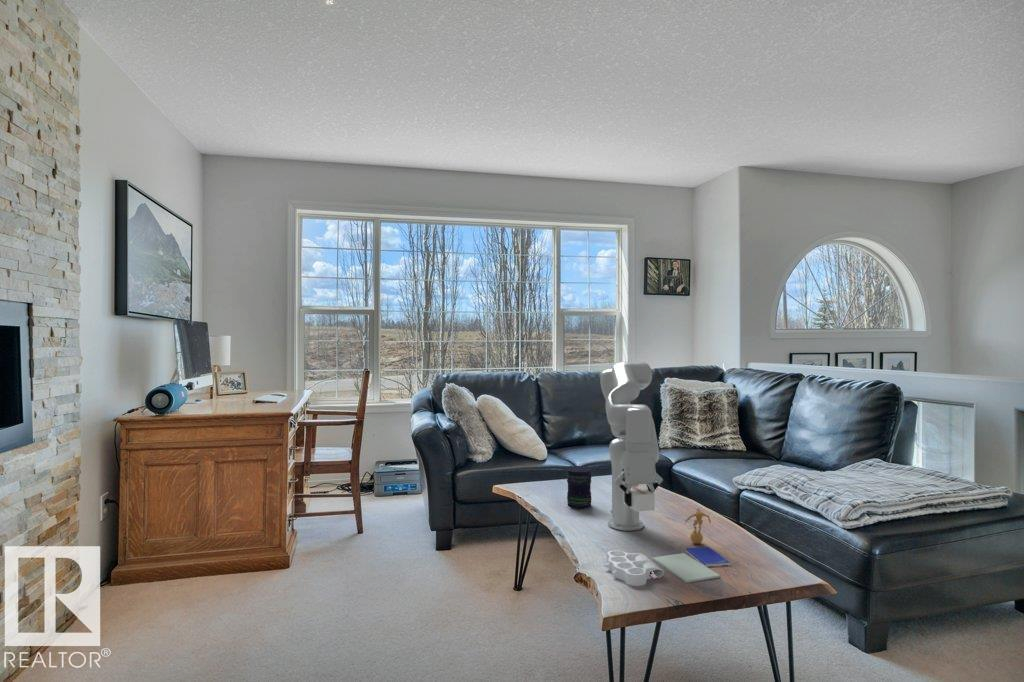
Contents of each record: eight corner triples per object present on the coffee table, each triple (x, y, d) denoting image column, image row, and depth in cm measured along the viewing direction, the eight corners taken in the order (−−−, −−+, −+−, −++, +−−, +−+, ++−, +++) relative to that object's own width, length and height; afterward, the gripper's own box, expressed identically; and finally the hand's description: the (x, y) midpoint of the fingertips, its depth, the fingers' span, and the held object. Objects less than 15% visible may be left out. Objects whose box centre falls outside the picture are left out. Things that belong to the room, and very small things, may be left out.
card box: (623, 503, 173) (623, 487, 173) (641, 501, 175) (640, 486, 175) (636, 511, 165) (636, 494, 165) (654, 510, 166) (654, 493, 166)
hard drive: (730, 561, 161) (709, 546, 173) (704, 563, 160) (685, 547, 172) (730, 567, 161) (709, 551, 173) (704, 568, 160) (685, 552, 172)
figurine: (706, 541, 181) (706, 505, 181) (713, 547, 175) (713, 510, 175) (682, 541, 181) (681, 505, 181) (688, 548, 174) (688, 510, 175)
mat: (652, 559, 166) (652, 557, 166) (683, 554, 169) (683, 553, 169) (686, 582, 149) (686, 580, 149) (720, 577, 153) (720, 575, 153)
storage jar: (565, 502, 225) (565, 466, 225) (589, 501, 226) (588, 466, 226) (569, 509, 215) (568, 472, 215) (593, 509, 216) (593, 471, 216)
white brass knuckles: (669, 584, 150) (619, 589, 147) (640, 558, 167) (595, 563, 164) (669, 571, 150) (619, 577, 147) (640, 547, 167) (595, 551, 164)
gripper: (659, 444, 175) (659, 500, 175) (607, 445, 172) (608, 502, 172) (669, 448, 167) (670, 506, 167) (616, 450, 165) (616, 509, 165)
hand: (638, 504), depth 170 cm, fingers closed on card box, 6 cm apart
